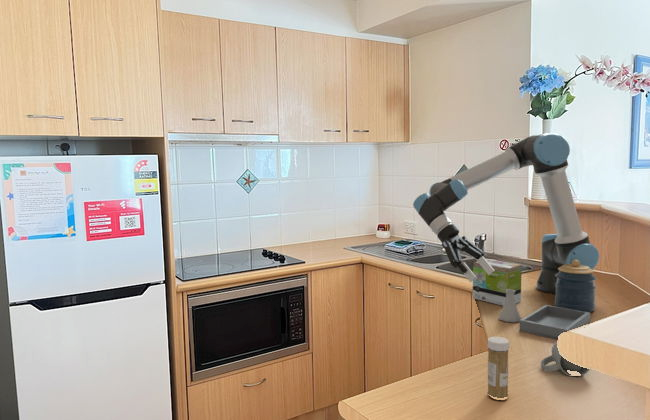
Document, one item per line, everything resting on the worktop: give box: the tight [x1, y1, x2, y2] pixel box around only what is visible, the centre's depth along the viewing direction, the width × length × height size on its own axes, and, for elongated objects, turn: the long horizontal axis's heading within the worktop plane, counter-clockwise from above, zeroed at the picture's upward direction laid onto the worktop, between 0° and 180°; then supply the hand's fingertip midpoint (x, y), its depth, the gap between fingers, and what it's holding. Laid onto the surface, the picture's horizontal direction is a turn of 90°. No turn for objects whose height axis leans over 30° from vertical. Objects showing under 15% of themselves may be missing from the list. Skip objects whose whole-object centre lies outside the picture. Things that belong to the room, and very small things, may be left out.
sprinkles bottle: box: [487, 336, 510, 398], centre depth 110 cm, size 5×5×14 cm
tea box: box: [472, 258, 523, 307], centre depth 187 cm, size 15×10×15 cm, turn 40°
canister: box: [554, 260, 597, 314], centre depth 175 cm, size 13×13×18 cm
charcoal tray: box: [519, 304, 591, 340], centre depth 157 cm, size 22×14×4 cm, turn 136°
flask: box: [498, 289, 522, 324], centre depth 164 cm, size 7×7×10 cm
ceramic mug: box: [540, 341, 590, 376], centre depth 124 cm, size 11×8×8 cm
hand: (482, 276), depth 170 cm, fingers open, 13 cm apart
